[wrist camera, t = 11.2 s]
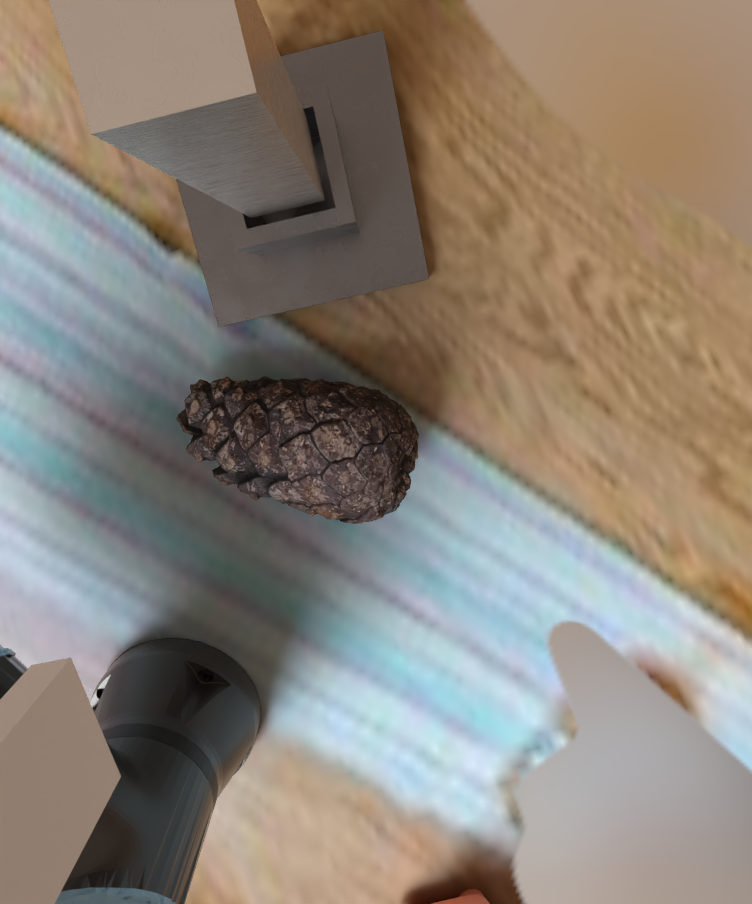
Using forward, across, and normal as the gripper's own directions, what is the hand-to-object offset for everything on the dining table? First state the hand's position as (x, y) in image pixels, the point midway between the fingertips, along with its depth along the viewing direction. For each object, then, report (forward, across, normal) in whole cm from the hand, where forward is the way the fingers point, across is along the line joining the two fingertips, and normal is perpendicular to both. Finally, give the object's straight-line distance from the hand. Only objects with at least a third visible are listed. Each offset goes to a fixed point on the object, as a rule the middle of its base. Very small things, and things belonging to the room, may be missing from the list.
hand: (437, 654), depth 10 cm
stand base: (+37, -4, +14) cm, 39 cm away
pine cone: (+37, -8, -4) cm, 38 cm away
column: (+28, -4, +14) cm, 32 cm away
